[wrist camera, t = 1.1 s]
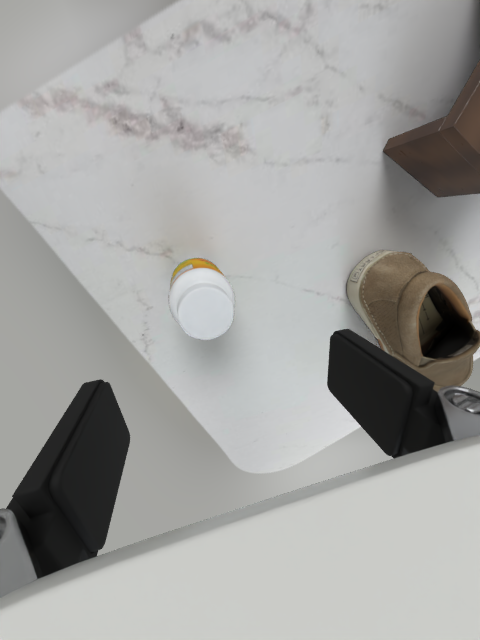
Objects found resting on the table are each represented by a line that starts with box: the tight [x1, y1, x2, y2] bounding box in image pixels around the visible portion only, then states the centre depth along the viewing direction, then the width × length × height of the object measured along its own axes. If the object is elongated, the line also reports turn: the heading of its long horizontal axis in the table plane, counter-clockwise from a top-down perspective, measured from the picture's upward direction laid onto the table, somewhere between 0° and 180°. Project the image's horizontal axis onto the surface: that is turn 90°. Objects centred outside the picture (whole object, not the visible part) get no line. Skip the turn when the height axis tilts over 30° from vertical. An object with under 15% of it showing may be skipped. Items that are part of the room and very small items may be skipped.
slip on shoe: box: [347, 250, 480, 392], centre depth 31 cm, size 30×11×9 cm, turn 43°
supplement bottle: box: [169, 258, 235, 340], centre depth 20 cm, size 5×5×10 cm
